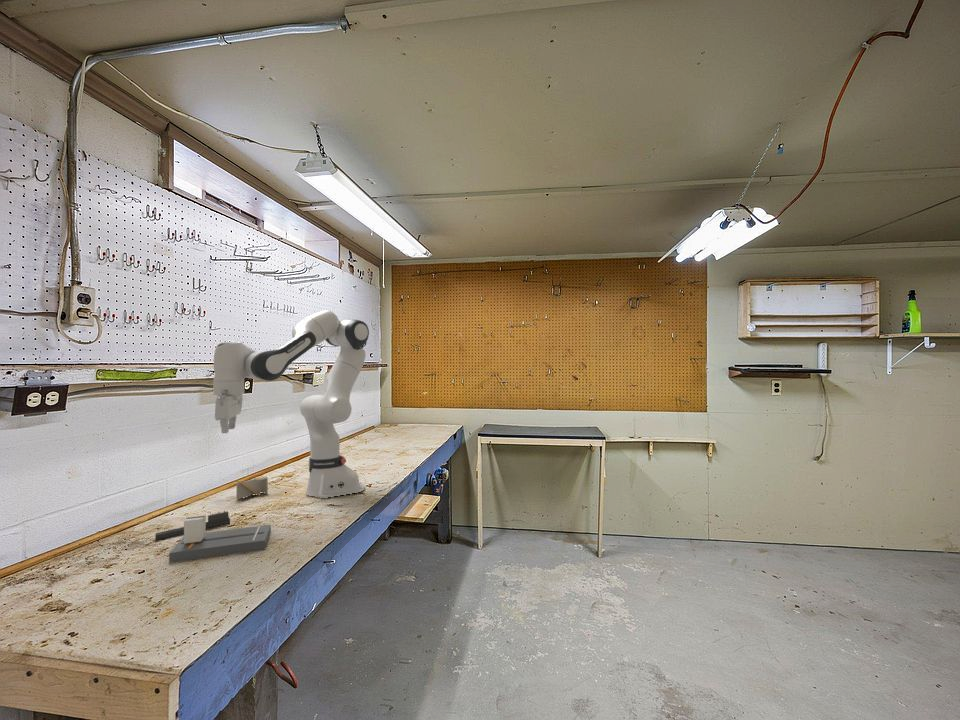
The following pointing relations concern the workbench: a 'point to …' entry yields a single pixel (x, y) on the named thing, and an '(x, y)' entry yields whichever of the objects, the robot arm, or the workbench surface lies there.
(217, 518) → the dark grey bar
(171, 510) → the workbench surface
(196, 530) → the fader cap
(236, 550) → the slider console
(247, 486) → the model
